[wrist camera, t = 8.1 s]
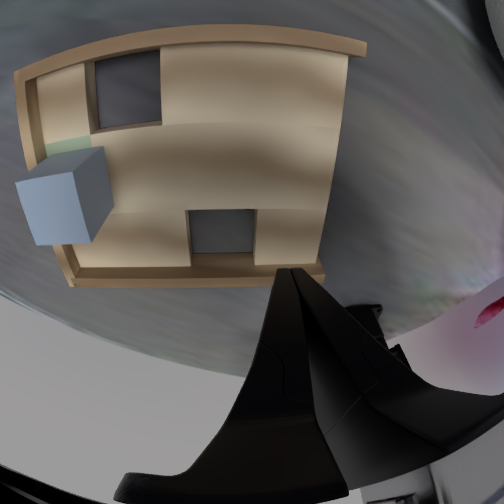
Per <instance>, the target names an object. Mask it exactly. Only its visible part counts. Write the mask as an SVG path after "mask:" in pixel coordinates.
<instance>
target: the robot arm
mask: <svg viewBox="0 0 504 504" xmlns="http://www.w3.org/2000/svg"><path fill="white" fill-rule="evenodd" d="M382 310H383V308H382V306H381V305H374V306H365V307H355V308H345V309H344V308H343V307H342V306H341V305H340V304H339V303H338V302H337V301H336V300H335V299H334V298H333V297H332V296H331V295H330V294H329V293H328V292H327V291H326V290H325V289H324V288H323V287H322V286H321V285H320V284H319V283H318V282H317V281H315V280H314V279H313V278H312V277H311V276H310V275H309V274H308V273H307V272H306V271H305V270H304V269H303V268H301V267H295V268H290V269H289V268H278V269H277V270H276V274H275V278H274V282H273V286H272V290H271V294H270V298H269V302H268V306H267V310H266V314H265V318H264V322H263V326H262V330H261V334H260V338H259V342H258V345H257V348H256V352H255V355H254V359H253V362H252V365H251V368H250V370H249V372H248V375H247V377H246V380H245V382H244V384H243V386H242V388H241V390H240V393H239V394H238V396H237V398H236V401H235V403H234V405H233V407H232V409H231V411H230V413H229V415H228V417H227V419H226V420H225V422H224V424H223V426H222V427H221V429H220V430H219V432H218V433H217V435H216V436H215V437H214V438H213V439H212V441H211V442H210V444H209V445H208V446H207V447H206V448H205V450H204V451H203V452H202V453H201V455H200V456H199V457H198V458H197V460H196V461H195V462H194V463H193V465H192V466H191V467H190V468H189V469H188V470H187V471H185V472H183V473H181V474H178V475H174V476H162V475H154V474H145V473H131V472H130V473H126V474H125V475H124V477H123V479H122V481H121V483H120V484H119V486H118V488H117V490H116V492H115V494H114V498H113V499H114V500H115V501H118V502H121V503H125V504H317V503H322V502H327V501H331V500H335V499H339V498H343V497H346V496H348V495H349V490H353V489H357V488H360V490H361V495H362V500H363V504H504V393H502V394H500V395H494V396H488V395H479V394H472V393H466V392H460V391H454V390H448V389H443V388H438V387H435V386H433V385H431V384H429V383H427V382H426V381H424V380H423V379H422V378H421V377H419V376H418V375H417V374H416V373H414V372H413V371H412V369H411V367H410V365H409V363H408V361H407V359H406V357H405V354H404V352H403V350H402V349H401V346H400V344H397V345H395V347H393V348H391V349H389V348H388V346H387V343H386V341H385V339H384V334H383V332H382V329H381V327H380V325H379V323H378V318H379V316H380V314H381V312H382ZM0 504H106V503H102V502H99V501H95V500H92V499H88V498H85V497H82V496H79V495H76V494H72V493H70V492H67V491H64V490H62V489H59V488H56V487H54V486H51V485H49V484H46V483H44V482H41V481H39V480H36V479H34V478H31V477H29V476H27V475H24V474H22V473H20V472H17V471H15V470H13V469H10V468H8V467H6V466H4V465H1V464H0Z"/></svg>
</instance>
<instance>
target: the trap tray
mask: <svg viewBox="0 0 504 504" xmlns="http://www.w3.org/2000/svg"><path fill="white" fill-rule="evenodd" d="M153 50H160V71H161V106H162V121H155V122H146V123H137V124H129V125H122V126H115V127H109V128H102V129H100V127H99V118H98V108H97V96H96V81H95V62H96V61H100V60H104V59H109V58H113V57H118V56H123V55H128V54H134V53H139V52H146V51H153ZM366 50H367V42H363V41H360V40H356V39H351V38H347V37H343V36H338V35H333V34H328V33H323V32H317V31H311V30H304V29H297V28H289V27H279V26H267V25H248V24H210V25H191V26H179V27H170V28H162V29H154V30H148V31H142V32H136V33H131V34H126V35H121V36H116V37H112V38H108V39H104V40H100V41H96V42H93V43H89V44H86V45H82V46H79V47H76V48H73V49H70V50H67V51H64V52H61V53H58V54H56V55H53V56H50V57H48V58H45V59H43V60H40V61H38V62H35V63H33V64H31V65H28V66H26V67H24V68H22V69H20V70H18V71H16V72H14V84H15V97H16V106H17V114H18V122H19V128H20V134H21V140H22V145H23V150H24V155H25V159H26V164H27V168H28V172H29V171H30V170H31V169H33V168H34V167H35V166H37V165H38V164H39V163H41V162H42V161H43V160H45V159H46V158H47V157H49V156H50V155H54V154H58V153H63V152H68V151H74V150H79V149H85V148H91V147H98V146H104V151H105V158H106V164H107V170H108V176H109V181H110V186H111V192H112V197H113V201H114V207H113V209H112V211H111V212H110V214H109V215H108V217H107V218H106V220H105V222H104V223H103V225H102V227H101V228H100V230H99V231H98V233H97V235H96V237H95V238H94V240H93V242H92V243H89V244H61V245H52V247H53V249H54V252H55V254H56V257H57V259H58V261H59V264H60V266H61V268H62V270H63V273H64V275H65V277H66V279H67V281H68V284H69V286H70V287H100V288H219V287H257V286H273V282H274V278H275V274H276V270H277V269H278V268H289V269H290V268H295V267H301V268H303V269H304V270H305V271H306V272H307V273H308V274H309V275H310V276H311V277H312V278H313V279H314V280H315V281H317V282H318V283H319V284H323V283H324V279H325V276H326V274H325V271H324V269H323V266H322V264H321V261H320V259H319V257H318V250H319V245H320V241H321V236H322V231H323V226H324V221H325V216H326V211H327V206H328V201H329V195H330V190H331V184H332V178H333V173H334V167H335V161H336V154H337V148H338V141H339V134H340V127H341V120H342V112H343V104H344V96H345V87H346V77H347V67H348V57H363V58H366ZM209 209H255V218H254V238H253V253H205V254H192V244H191V235H190V225H189V214H188V210H209Z"/></svg>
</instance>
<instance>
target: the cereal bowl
mask: <svg viewBox="0 0 504 504" xmlns="http://www.w3.org/2000/svg"><path fill="white" fill-rule="evenodd" d="M485 5H486V9H487V14H488V18H489V22H490V26H491V28H492V32H493V35H494V37H495V40H496V43H497V46H498V48H499V50H500V53H501V55H502V57H503V59H504V0H485Z"/></svg>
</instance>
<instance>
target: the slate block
mask: <svg viewBox="0 0 504 504" xmlns="http://www.w3.org/2000/svg"><path fill="white" fill-rule="evenodd" d="M15 184H16V187H17V191H18V194H19V197H20V201H21V204H22V207H23V210H24V213H25V216H26V219H27V221H28V224H29V227H30V230H31V232H32V235H33V237H34V240H35V242H36V245H61V244H89V243H92V242H93V240H94V238H95V237H96V235H97V233H98V231H99V230H100V228H101V227H102V225H103V223H104V222H105V220H106V218H107V217H108V215H109V214H110V212H111V211H112V209H113V207H114V201H113V197H112V192H111V186H110V181H109V176H108V170H107V164H106V158H105V151H104V146H98V147H91V148H85V149H79V150H74V151H68V152H63V153H58V154H54V155H50V156H49V157H47V158H46V159H45V160H43V161H42V162H41V163H39V164H38V165H37V166H35V167H34V168H33V169H31V170H30V171H29V172H27V173H26V174H25V175H24V176H22V177H21V178H20V179H19V180H18V181H16V182H15Z"/></svg>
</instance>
